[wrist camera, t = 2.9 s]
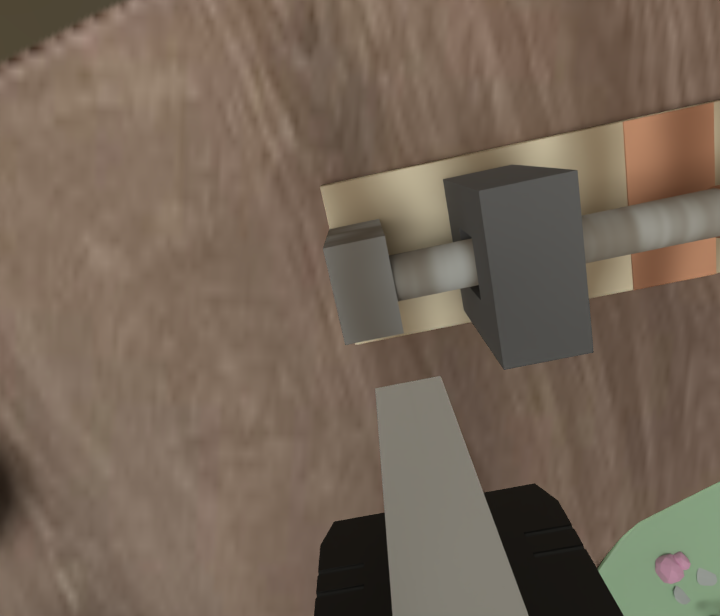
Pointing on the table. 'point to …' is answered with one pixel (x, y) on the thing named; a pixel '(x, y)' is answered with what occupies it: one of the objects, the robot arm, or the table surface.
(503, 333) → the collar
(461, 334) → the table surface
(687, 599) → the plant
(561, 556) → the robot arm
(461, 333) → the table surface
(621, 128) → the grey sliding block rail
